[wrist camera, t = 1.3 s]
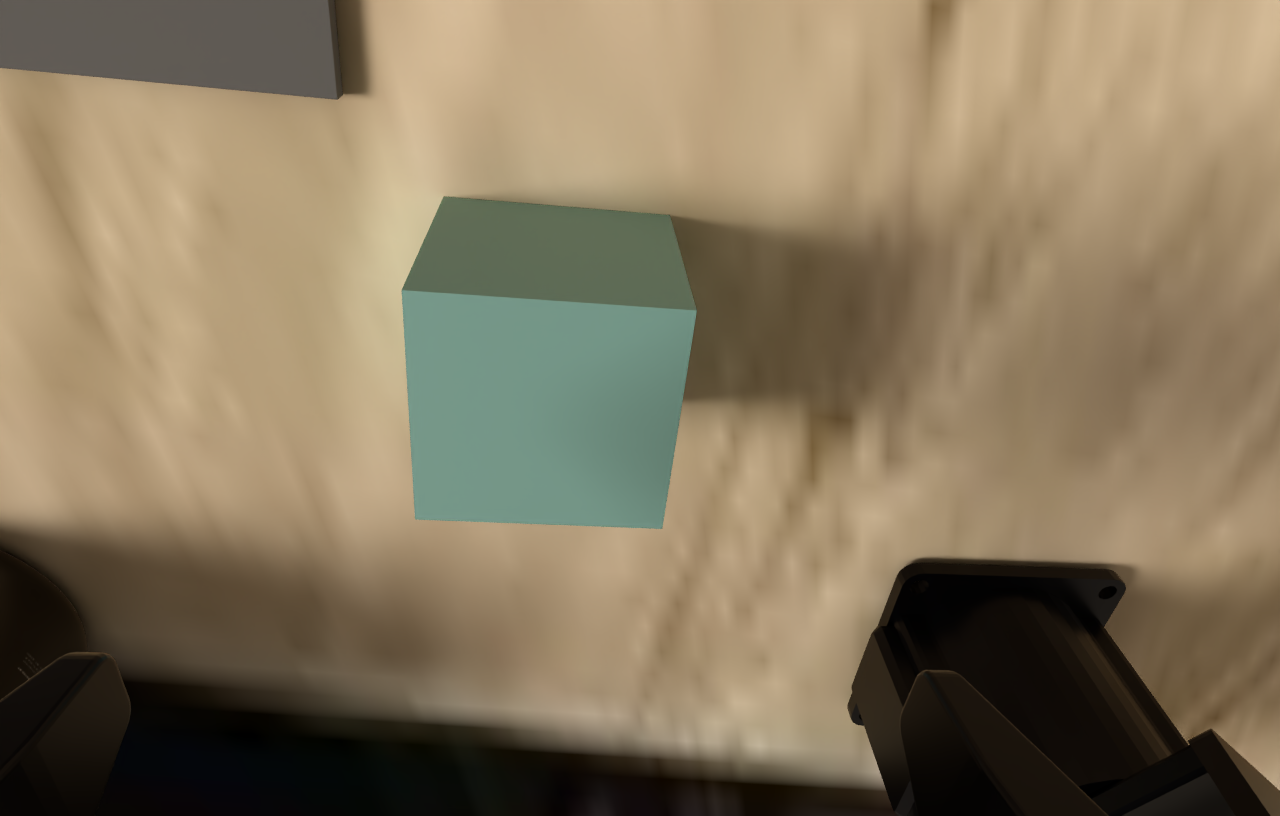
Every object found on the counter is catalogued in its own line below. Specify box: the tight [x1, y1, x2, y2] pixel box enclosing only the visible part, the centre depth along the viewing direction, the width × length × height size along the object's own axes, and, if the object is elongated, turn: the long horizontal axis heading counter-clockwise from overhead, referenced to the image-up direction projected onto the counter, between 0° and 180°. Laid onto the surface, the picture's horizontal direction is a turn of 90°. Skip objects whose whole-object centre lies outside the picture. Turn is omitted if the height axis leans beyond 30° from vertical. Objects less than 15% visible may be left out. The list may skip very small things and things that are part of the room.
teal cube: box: [402, 197, 697, 529], centre depth 15 cm, size 4×4×4 cm
